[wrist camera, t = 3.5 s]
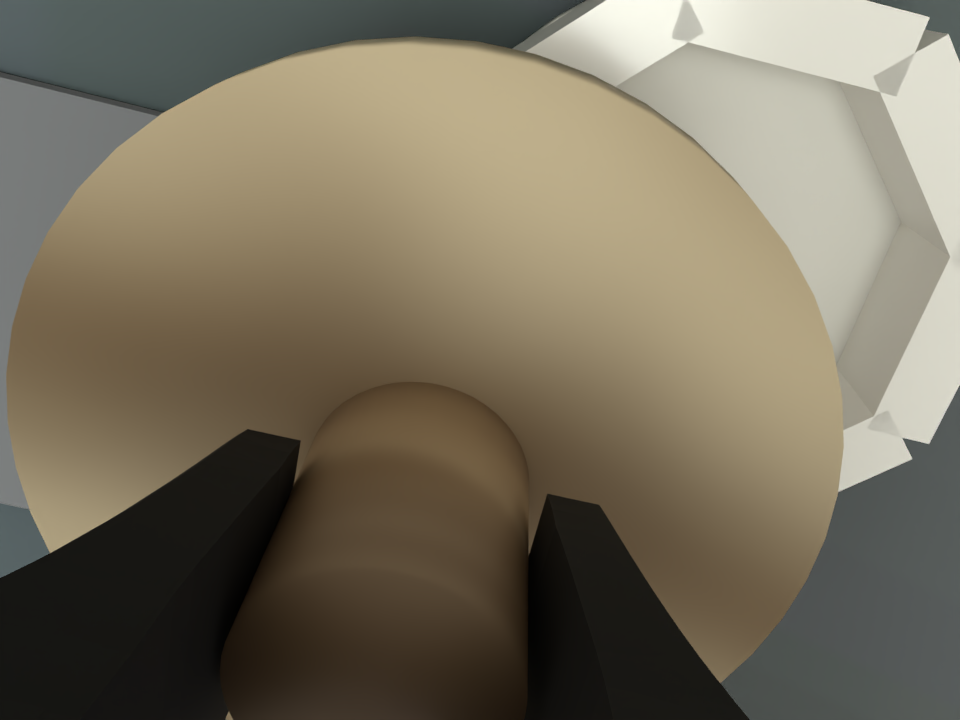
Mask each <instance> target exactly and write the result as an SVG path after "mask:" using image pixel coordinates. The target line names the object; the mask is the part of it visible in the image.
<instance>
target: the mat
mask: <svg viewBox="0 0 960 720" xmlns="http://www.w3.org/2000/svg"><path fill="white" fill-rule="evenodd" d="M162 113H164V112H160V111H156V110H152V109H148V108H144V107H140V106H136V105H131V104H127V103H123V102H119V101H115V100H111V99H107V98H103V97H99V96H95V95H91V94H87V93H83V92H79V91H75V90H71V89H67V88H63V87H59V86H55V85H51V84H47V83H43V82H39V81H35V80H31V79H26V78H22V77H18V76H14V75H10V74H6V73H2V72H0V503H2V504H7V505H11V506H16V507H20V508H25V509H29V506H28V503H27V500H26V497H25V494H24V491H23V488H22V485H21V482H20V479H19V476H18V473H17V470H16V466H15V460H14V455H13V449H12V443H11V438H10V432H9V427H8V417H7V387H6V372H7V363H8V355H9V347H10V339H11V330H12V325H13V321H14V318H15V314H16V311H17V307H18V304H19V300H20V297H21V293H22V290H23V286H24V283H25V279H26V277H27V275H28V273H29V271H30V269H31V267H32V264H33V262H34V260H35V258H36V256H37V254H38V252H39V250H40V247H41V245H42V243H43V241H44V239H45V237H46V235H47V233H48V231H49V230H50V228H51V227H52V225H53V224H54V222H55V221H56V219H57V218H58V217H59V215H60V214H61V212H62V211H63V209H64V208H65V206H66V205H67V203H68V202H69V201H70V199H71V198H72V196H73V195H74V193H75V192H76V190H77V189H78V188H79V187H80V186H81V185H82V184H83V183H84V181H85V180H86V179H87V178H88V177H89V176H90V175H91V174H92V173H93V172H94V171H95V170H96V169H97V168H98V167H99V166H100V165H101V164H102V163H103V162H104V161H105V160H106V158H107V157H108V156H109V155H110V154H111V153H112V152H113V151H114V150H115V149H116V148H117V147H119V146H120V145H121V144H123V143H124V142H125V141H127V140H128V139H129V138H130V137H132V136H133V135H134V134H136V133H137V132H138V131H140V130H141V129H142V128H144V127H145V126H146V125H148V124H149V123H150V122H152V121H153V120H154V119H155V118H157V117H158V116H159V115H161V114H162ZM29 510H30V509H29Z"/></svg>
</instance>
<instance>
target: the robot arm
mask: <svg viewBox="0 0 960 720" xmlns="http://www.w3.org/2000/svg"><path fill="white" fill-rule="evenodd" d="M300 442H301V440H296V439H292V438H287V437H282V436H278V435H273V434H268V433H264V432H259V431H254V430H250V429H247V430H245V431H244V432H242V433H240V434H238V435H237V436H235V437H234V438H232V439H231V440H229V441H228V442H226V443H225V444H223V445H222V446H221V447H219V448H218V449H216V450H215V451H213V452H212V453H210V454H209V455H208V456H206V457H205V458H203V459H202V460H200V461H199V462H198V463H196V464H195V465H193V466H192V467H190V468H189V469H187V470H186V471H184V472H183V473H181V474H180V475H178V476H177V477H175V478H174V479H173V480H171V481H170V482H168V483H166V484H165V485H163V486H162V487H160V488H159V489H157V490H156V491H154V492H152V493H151V494H149V495H148V496H146V497H145V498H143V499H141V500H140V501H138V502H137V503H135V504H134V505H132V506H131V507H129V508H127V509H126V510H124V511H123V512H121V513H119V514H118V515H116V516H114V517H113V518H111V519H109V520H108V521H106V522H104V523H103V524H101V525H99V526H97V527H96V528H94V529H92V530H90V531H88V532H87V533H85V534H83V535H81V536H80V537H78V538H76V539H74V540H73V541H71V542H69V543H67V544H65V545H64V546H62V547H60V548H58V549H57V550H55V551H53V552H51V553H50V554H48V555H46V556H44V557H42V558H40V559H38V560H36V561H34V562H32V563H30V564H28V565H26V566H24V567H22V568H20V569H18V570H16V571H14V572H12V573H10V574H8V575H6V576H4V577H1V578H0V720H225V718H226V716H227V714H228V712H229V710H228V708H227V705H226V703H225V700H224V696H223V692H222V688H221V680H220V663H221V655H222V651H223V648H224V644H225V641H226V639H227V636H228V634H229V632H230V629H231V627H232V625H233V623H234V620H235V618H236V616H237V613H238V611H239V609H240V607H241V604H242V602H243V600H244V597H245V595H246V593H247V591H248V588H249V586H250V584H251V582H252V579H253V577H254V575H255V572H256V570H257V568H258V566H259V563H260V561H261V559H262V557H263V555H264V552H265V550H266V548H267V546H268V543H269V541H270V539H271V537H272V534H273V532H274V530H275V528H276V525H277V523H278V521H279V518H280V516H281V514H282V512H283V509H284V507H285V505H286V502H287V500H288V498H289V496H290V493H291V491H292V489H293V486H294V481H295V474H296V468H297V462H298V455H299V449H300ZM524 720H749V718H748V717H747V716H746V715H745V714H744V712H743V711H742V710H741V709H740V708H739V706H738V705H737V704H736V703H735V702H734V700H733V699H732V698H731V697H730V695H729V694H728V693H727V691H726V690H725V689H724V688H723V686H722V685H721V684H720V682H719V681H718V680H717V679H716V677H715V676H714V675H713V673H712V672H711V671H710V670H709V668H708V667H707V666H706V664H705V663H704V662H703V661H702V659H701V658H700V657H699V655H698V654H697V653H696V651H695V650H694V648H693V647H692V646H691V644H690V643H689V642H688V640H687V639H686V637H685V636H684V635H683V633H682V632H681V630H680V629H679V628H678V626H677V625H676V623H675V622H674V620H673V619H672V618H671V616H670V615H669V613H668V612H667V610H666V609H665V607H664V606H663V604H662V603H661V601H660V600H659V598H658V597H657V595H656V594H655V592H654V591H653V589H652V588H651V586H650V585H649V583H648V582H647V580H646V579H645V577H644V575H643V574H642V572H641V571H640V569H639V568H638V566H637V564H636V563H635V561H634V560H633V558H632V556H631V555H630V553H629V552H628V550H627V548H626V547H625V545H624V544H623V542H622V540H621V539H620V537H619V535H618V534H617V532H616V531H615V529H614V527H613V526H612V524H611V522H610V521H609V519H608V518H607V516H606V514H605V513H604V511H603V510H602V508H601V507H600V505H598V504H593V503H589V502H584V501H579V500H575V499H570V498H565V497H561V496H556V495H551V494H547V496H546V500H545V503H544V506H543V510H542V513H541V516H540V520H539V523H538V526H537V530H536V533H535V536H534V540H533V543H532V546H531V550H530V553H529V564H528V692H527V707H526V714H525V717H524Z"/></svg>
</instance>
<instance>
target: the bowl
mask: <svg viewBox="0 0 960 720" xmlns="http://www.w3.org/2000/svg"><path fill="white" fill-rule="evenodd" d="M929 18H930V17H927V16H923V15H919V14H916V13H912V12H908V11H904V10H900V9H897V8H893V7H889V6H885V5H882V4H878V3H874V2H870V1H867V0H586V1H584V2H582V3H580V4H578V5H577V6H575V7H573V8H571V9H569V10H568V11H566V12H564V13H562V14H560V15H559V16H557V17H555V18H554V19H553V20H551V21H550V22H548V23H547V24H546V25H544V26H543V27H542V28H540V29H539V30H538V31H536V32H535V33H533V34H532V35H531V36H529V37H528V38H527V39H526V40H525V41H523V42H522V43H520V44H519V45H517V46H515V47H514V48H512V49H515V50H519V51H524V52H529V53H533V54H537V55H540V56H543V57H545V58H548V59H551V60H553V61H556V62H559V63H562V64H564V65H567V66H570V67H572V68H575V69H578V70H581V71H583V72H586V73H589V74H591V75H594V76H596V77H598V78H599V79H601V80H603V81H605V82H607V83H609V84H611V85H613V86H614V87H616V88H618V89H620V90H622V91H624V92H626V93H627V94H629V95H631V96H633V97H635V98H637V99H639V100H641V101H642V102H644V103H646V104H647V105H649V106H650V107H651V108H653V109H654V110H656V111H657V112H658V113H660V114H661V115H662V116H664V117H665V118H667V119H668V120H669V121H671V122H672V123H673V124H675V125H676V126H677V127H679V128H680V129H682V130H683V131H684V132H686V133H687V134H688V135H690V136H691V137H693V138H694V139H695V140H696V141H697V142H698V143H699V144H700V145H701V146H702V147H703V148H704V149H705V150H706V151H707V152H708V153H709V154H710V155H711V156H712V157H713V158H714V159H715V160H716V161H717V162H718V163H719V164H720V165H721V166H722V167H723V168H724V169H725V170H726V171H727V172H728V173H729V174H730V175H731V176H732V177H733V178H734V179H735V180H736V181H737V182H738V184H739V185H740V186H741V187H742V188H743V190H744V191H745V192H746V193H747V194H748V196H749V197H750V198H751V199H752V200H753V202H754V203H755V204H756V206H757V207H758V208H759V210H760V211H761V212H762V214H763V215H764V216H765V218H766V219H767V220H768V221H769V223H770V224H771V225H772V227H773V228H774V229H775V231H776V232H777V233H778V235H779V236H780V237H781V239H782V240H783V241H784V243H785V244H786V245H787V246H788V248H789V250H790V252H791V254H792V256H793V258H794V259H795V261H796V263H797V265H798V267H799V269H800V270H801V272H802V274H803V276H804V278H805V280H806V281H807V283H808V285H809V287H810V289H811V291H812V292H813V294H814V296H815V299H816V302H817V304H818V307H819V310H820V313H821V316H822V318H823V321H824V324H825V327H826V330H827V332H828V335H829V338H830V341H831V343H832V346H833V351H834V356H835V362H836V367H837V372H838V377H839V383H840V388H841V393H842V405H843V437H844V449H843V457H842V465H841V473H840V481H839V489H838V492H839V491H842V490H844V489H846V488H848V487H851V486H853V485H855V484H857V483H860V482H862V481H864V480H866V479H869V478H871V477H873V476H875V475H878V474H880V473H882V472H884V471H886V470H889V469H891V468H893V467H895V466H898V465H900V464H902V463H904V462H907V461H909V460H911V459H912V457H911V455H910V453H909V451H908V449H907V447H906V445H905V443H904V441H903V439H902V438H906V439H910V440H915V441H919V442H923V443H927V444H929V443H930V441H931V439H932V437H933V435H934V433H935V431H936V430H937V428H938V426H939V424H940V422H941V420H942V418H943V416H944V414H945V412H946V410H947V408H948V406H949V404H950V402H951V401H952V399H953V397H954V395H955V393H956V391H957V389H958V387H959V385H960V62H959V60H958V57H957V55H956V52H955V49H954V47H953V44H952V42H951V39H950V37H949V34H945V33H940V32H934V31H929V30H925V28H926V25H927V23H928V20H929Z"/></svg>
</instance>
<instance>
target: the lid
mask: <svg viewBox="0 0 960 720" xmlns="http://www.w3.org/2000/svg"><path fill="white" fill-rule="evenodd" d="M6 387H7V417H8V427H9V432H10V438H11V443H12V449H13V455H14V460H15V466H16V470H17V473H18V476H19V479H20V482H21V485H22V488H23V491H24V494H25V497H26V500H27V503H28V506H29V509H30V512H31V514H32V516H33V519H34V521H35V523H36V525H37V527H38V529H39V531H40V533H41V535H42V537H43V539H44V541H45V543H46V545H47V548H48V550H49V552H50V553H51V552H53V551H55V550H57V549H58V548H60V547H62V546H64V545H65V544H67V543H69V542H71V541H73V540H74V539H76V538H78V537H80V536H81V535H83V534H85V533H87V532H88V531H90V530H92V529H94V528H96V527H97V526H99V525H101V524H103V523H104V522H106V521H108V520H109V519H111V518H113V517H114V516H116V515H118V514H119V513H121V512H123V511H124V510H126V509H127V508H129V507H131V506H132V505H134V504H135V503H137V502H138V501H140V500H141V499H143V498H145V497H146V496H148V495H149V494H151V493H152V492H154V491H156V490H157V489H159V488H160V487H162V486H163V485H165V484H166V483H168V482H170V481H171V480H173V479H174V478H175V477H177V476H178V475H180V474H181V473H183V472H184V471H186V470H187V469H189V468H190V467H192V466H193V465H195V464H196V463H198V462H199V461H200V460H202V459H203V458H205V457H206V456H208V455H209V454H210V453H212V452H213V451H215V450H216V449H218V448H219V447H221V446H222V445H223V444H225V443H226V442H228V441H229V440H231V439H232V438H234V437H235V436H237V435H238V434H240V433H242V432H244V431H245V430H247V429H250V430H254V431H259V432H264V433H268V434H273V435H278V436H282V437H287V438H292V439H296V440H301V442H300V449H299V455H298V462H297V468H296V474H295V481H294V486H293V489H292V491H291V493H290V496H289V498H288V500H287V502H286V505H285V507H284V509H283V512H282V514H281V516H280V518H279V521H278V523H277V525H276V528H275V530H274V532H273V534H272V537H271V539H270V541H269V543H268V546H267V548H266V550H265V552H264V555H263V557H262V559H261V561H260V563H259V566H258V568H257V570H256V572H255V575H254V577H253V579H252V582H251V584H250V586H249V588H248V591H247V593H246V595H245V597H244V600H243V602H242V604H241V607H240V609H239V611H238V613H237V616H236V618H235V620H234V623H233V625H232V627H231V629H230V632H229V634H228V636H227V639H226V641H225V644H224V648H223V651H222V655H221V663H220V680H221V688H222V692H223V696H224V700H225V703H226V705H227V708H228V710H229V712H228V714H227V716H226V718H225V719H227V720H524V717H525V714H526V707H527V692H528V564H529V553H530V550H531V546H532V543H533V540H534V536H535V533H536V530H537V526H538V523H539V520H540V516H541V513H542V510H543V506H544V503H545V500H546V496H547V494H551V495H556V496H561V497H565V498H570V499H575V500H579V501H584V502H589V503H593V504H598V505H600V507H601V508H602V510H603V511H604V513H605V514H606V516H607V518H608V519H609V521H610V522H611V524H612V526H613V527H614V529H615V531H616V532H617V534H618V535H619V537H620V539H621V540H622V542H623V544H624V545H625V547H626V548H627V550H628V552H629V553H630V555H631V556H632V558H633V560H634V561H635V563H636V564H637V566H638V568H639V569H640V571H641V572H642V574H643V575H644V577H645V579H646V580H647V582H648V583H649V585H650V586H651V588H652V589H653V591H654V592H655V594H656V595H657V597H658V598H659V600H660V601H661V603H662V604H663V606H664V607H665V609H666V610H667V612H668V613H669V615H670V616H671V618H672V619H673V620H674V622H675V623H676V625H677V626H678V628H679V629H680V630H681V632H682V633H683V635H684V636H685V637H686V639H687V640H688V642H689V643H690V644H691V646H692V647H693V648H694V650H695V651H696V653H697V654H698V655H699V657H700V658H701V659H702V661H703V662H704V663H705V664H706V666H707V667H708V668H709V670H710V671H711V672H712V673H713V675H714V676H715V677H716V679H717V680H718V681H719V682H720V683H721V682H722V681H723V680H724V679H725V678H727V677H728V676H729V675H730V674H731V673H732V672H733V671H734V670H735V669H736V668H737V667H739V666H740V665H741V664H742V663H743V662H744V661H745V660H746V659H747V658H748V657H750V656H751V655H752V654H753V653H754V651H755V650H756V649H757V648H758V647H759V646H760V644H761V643H762V642H763V641H764V640H765V639H766V637H767V636H768V635H769V634H770V633H771V631H772V630H773V629H774V628H775V627H776V626H777V624H778V623H779V622H780V621H781V620H782V618H783V617H784V615H785V613H786V612H787V610H788V609H789V607H790V606H791V604H792V602H793V601H794V599H795V598H796V596H797V595H798V593H799V591H800V590H801V588H802V587H803V585H804V584H805V582H806V580H807V578H808V576H809V574H810V571H811V569H812V567H813V565H814V563H815V560H816V558H817V556H818V554H819V552H820V549H821V547H822V545H823V543H824V541H825V538H826V534H827V531H828V527H829V524H830V520H831V517H832V513H833V510H834V506H835V503H836V499H837V496H838V489H839V481H840V473H841V465H842V457H843V449H844V437H843V405H842V393H841V388H840V383H839V377H838V372H837V367H836V362H835V356H834V351H833V346H832V343H831V341H830V338H829V335H828V332H827V330H826V327H825V324H824V321H823V318H822V316H821V313H820V310H819V307H818V304H817V302H816V299H815V296H814V294H813V292H812V291H811V289H810V287H809V285H808V283H807V281H806V280H805V278H804V276H803V274H802V272H801V270H800V269H799V267H798V265H797V263H796V261H795V259H794V258H793V256H792V254H791V252H790V250H789V248H788V246H787V245H786V244H785V243H784V241H783V240H782V239H781V237H780V236H779V235H778V233H777V232H776V231H775V229H774V228H773V227H772V225H771V224H770V223H769V221H768V220H767V219H766V218H765V216H764V215H763V214H762V212H761V211H760V210H759V208H758V207H757V206H756V204H755V203H754V202H753V200H752V199H751V198H750V197H749V196H748V194H747V193H746V192H745V191H744V190H743V188H742V187H741V186H740V185H739V184H738V182H737V181H736V180H735V179H734V178H733V177H732V176H731V175H730V174H729V173H728V172H727V171H726V170H725V169H724V168H723V167H722V166H721V165H720V164H719V163H718V162H717V161H716V160H715V159H714V158H713V157H712V156H711V155H710V154H709V153H708V152H707V151H706V150H705V149H704V148H703V147H702V146H701V145H700V144H699V143H698V142H697V141H696V140H695V139H694V138H693V137H691V136H690V135H688V134H687V133H686V132H684V131H683V130H682V129H680V128H679V127H677V126H676V125H675V124H673V123H672V122H671V121H669V120H668V119H667V118H665V117H664V116H662V115H661V114H660V113H658V112H657V111H656V110H654V109H653V108H651V107H650V106H649V105H647V104H646V103H644V102H642V101H641V100H639V99H637V98H635V97H633V96H631V95H629V94H627V93H626V92H624V91H622V90H620V89H618V88H616V87H614V86H613V85H611V84H609V83H607V82H605V81H603V80H601V79H599V78H598V77H596V76H594V75H591V74H589V73H586V72H583V71H581V70H578V69H575V68H572V67H570V66H567V65H564V64H562V63H559V62H556V61H553V60H551V59H548V58H545V57H543V56H540V55H537V54H533V53H529V52H524V51H519V50H515V49H510V48H506V47H501V46H497V45H492V44H487V43H483V42H478V41H469V40H456V39H443V38H430V37H417V36H414V37H398V38H382V39H366V40H354V41H349V42H344V43H339V44H334V45H329V46H325V47H320V48H315V49H310V50H305V51H300V52H296V53H294V54H291V55H288V56H285V57H283V58H280V59H277V60H274V61H272V62H269V63H266V64H263V65H261V66H258V67H255V68H252V69H250V70H247V71H244V72H242V73H239V74H237V75H235V76H233V77H231V78H229V79H226V80H224V81H222V82H220V83H218V84H215V85H214V86H212V87H210V88H208V89H206V90H204V91H203V92H201V93H199V94H197V95H195V96H193V97H191V98H190V99H188V100H186V101H184V102H182V103H180V104H179V105H177V106H175V107H173V108H171V109H169V110H167V111H166V112H164V113H162V114H161V115H159V116H158V117H157V118H155V119H154V120H153V121H152V122H150V123H149V124H148V125H146V126H145V127H144V128H142V129H141V130H140V131H138V132H137V133H136V134H134V135H133V136H132V137H130V138H129V139H128V140H127V141H125V142H124V143H123V144H121V145H120V146H119V147H117V148H116V149H115V150H114V151H113V152H112V153H111V154H110V155H109V156H108V157H107V158H106V160H105V161H104V162H103V163H102V164H101V165H100V166H99V167H98V168H97V169H96V170H95V171H94V172H93V173H92V174H91V175H90V176H89V177H88V178H87V179H86V180H85V181H84V183H83V184H82V185H81V186H80V187H79V188H78V189H77V190H76V192H75V193H74V195H73V196H72V198H71V199H70V201H69V202H68V203H67V205H66V206H65V208H64V209H63V211H62V212H61V214H60V215H59V217H58V218H57V219H56V221H55V222H54V224H53V225H52V227H51V228H50V230H49V231H48V233H47V235H46V237H45V239H44V241H43V243H42V245H41V247H40V250H39V252H38V254H37V256H36V258H35V260H34V262H33V264H32V267H31V269H30V271H29V273H28V275H27V277H26V279H25V283H24V286H23V290H22V293H21V297H20V300H19V304H18V307H17V311H16V314H15V318H14V321H13V325H12V330H11V339H10V347H9V355H8V363H7V372H6Z"/></svg>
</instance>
